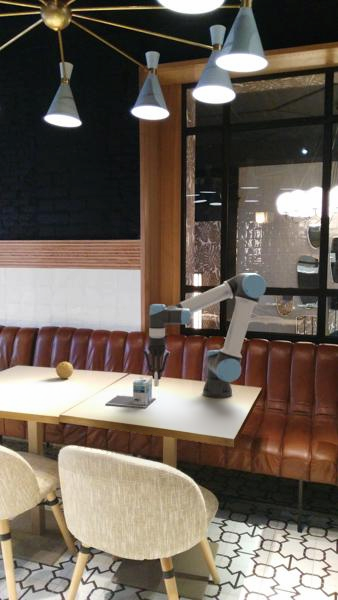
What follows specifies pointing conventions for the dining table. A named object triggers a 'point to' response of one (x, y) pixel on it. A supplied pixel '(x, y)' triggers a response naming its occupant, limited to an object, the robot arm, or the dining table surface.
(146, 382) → the light bulb box
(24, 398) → the dining table surface
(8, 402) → the dining table surface
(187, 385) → the dining table surface
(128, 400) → the mat
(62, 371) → the stress ball
